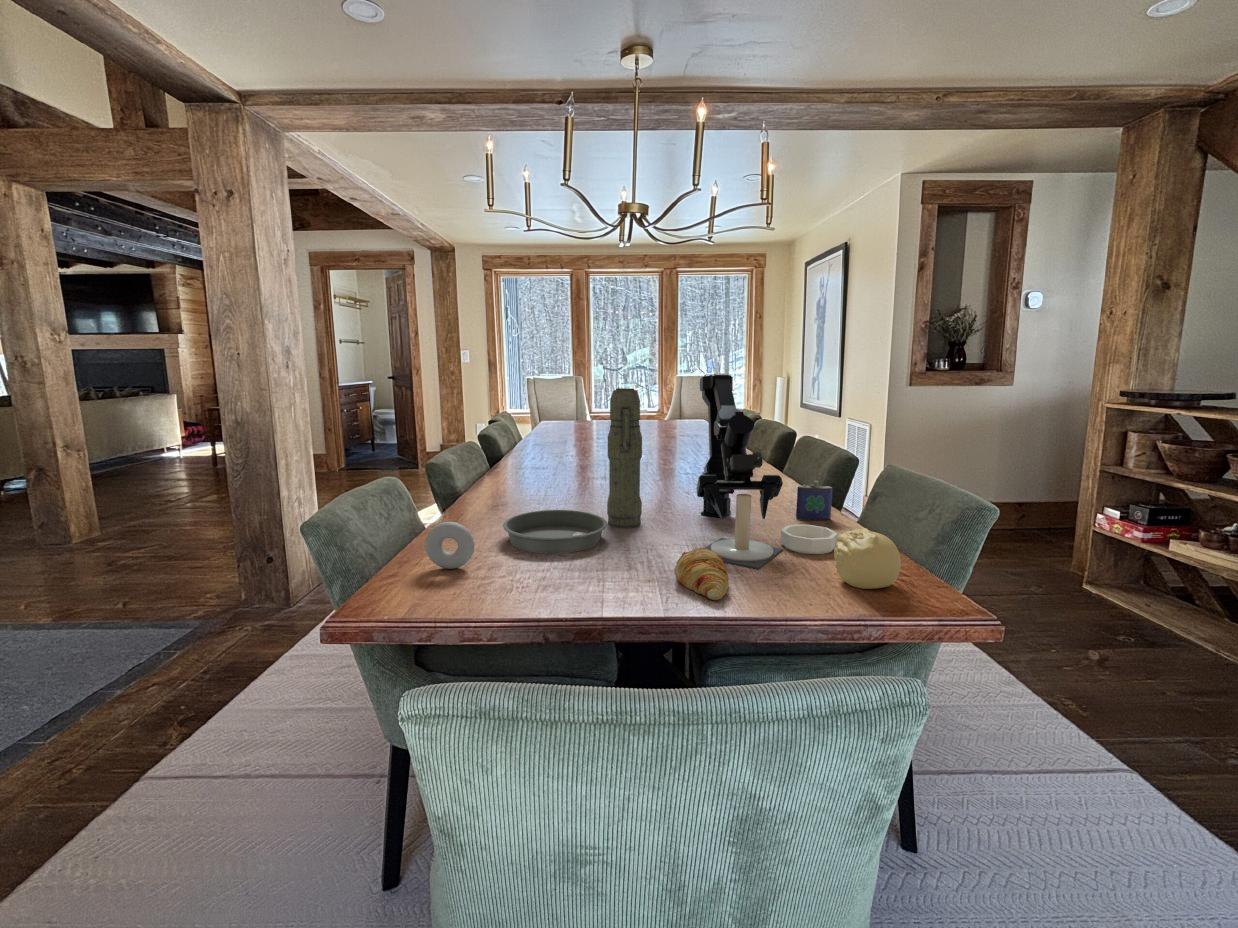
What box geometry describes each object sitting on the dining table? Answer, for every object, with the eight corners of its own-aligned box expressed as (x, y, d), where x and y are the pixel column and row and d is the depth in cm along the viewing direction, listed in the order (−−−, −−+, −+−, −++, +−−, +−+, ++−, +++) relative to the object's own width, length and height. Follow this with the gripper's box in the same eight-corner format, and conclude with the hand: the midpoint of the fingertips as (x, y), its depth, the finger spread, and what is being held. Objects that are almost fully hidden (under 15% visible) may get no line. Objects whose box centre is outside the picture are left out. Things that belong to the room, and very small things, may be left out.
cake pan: (542, 564, 131) (541, 544, 130) (484, 538, 149) (483, 520, 148) (628, 542, 147) (628, 523, 146) (566, 520, 165) (566, 504, 164)
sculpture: (824, 572, 126) (828, 521, 124) (884, 573, 126) (888, 522, 124) (842, 594, 115) (847, 538, 113) (908, 595, 114) (913, 539, 112)
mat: (693, 556, 136) (693, 554, 136) (721, 539, 148) (721, 537, 148) (758, 569, 128) (758, 567, 128) (782, 550, 140) (782, 548, 140)
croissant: (733, 621, 111) (754, 583, 110) (686, 600, 108) (708, 561, 108) (696, 577, 131) (714, 545, 131) (656, 559, 129) (674, 525, 128)
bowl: (775, 548, 141) (775, 533, 140) (791, 536, 151) (792, 522, 150) (826, 558, 135) (827, 542, 134) (840, 544, 144) (841, 529, 144)
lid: (700, 554, 136) (702, 497, 134) (725, 538, 147) (727, 486, 145) (759, 565, 129) (762, 506, 126) (781, 548, 140) (784, 493, 138)
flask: (829, 518, 168) (831, 479, 166) (832, 521, 165) (834, 481, 163) (794, 517, 168) (796, 479, 166) (797, 520, 165) (799, 481, 163)
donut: (424, 571, 126) (421, 524, 124) (428, 565, 129) (426, 519, 127) (473, 571, 126) (471, 524, 124) (476, 565, 129) (475, 519, 127)
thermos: (636, 516, 168) (637, 387, 162) (645, 528, 157) (647, 390, 151) (604, 517, 167) (604, 387, 161) (610, 530, 155) (611, 390, 149)
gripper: (699, 439, 139) (705, 498, 130) (782, 439, 139) (794, 498, 130) (694, 467, 148) (699, 524, 139) (772, 468, 148) (782, 524, 139)
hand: (743, 518), depth 136 cm, fingers open, 9 cm apart
